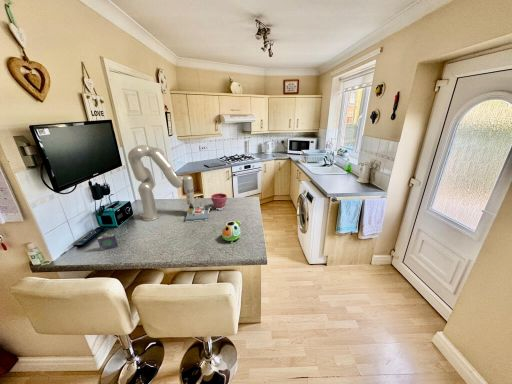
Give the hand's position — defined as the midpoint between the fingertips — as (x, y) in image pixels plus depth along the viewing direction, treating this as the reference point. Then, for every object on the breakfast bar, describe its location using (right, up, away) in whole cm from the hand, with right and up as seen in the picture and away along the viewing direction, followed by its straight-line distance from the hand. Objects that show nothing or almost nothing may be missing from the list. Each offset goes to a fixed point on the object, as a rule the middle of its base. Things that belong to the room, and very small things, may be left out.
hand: (191, 210), depth 176 cm
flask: (-38, -21, -46) cm, 64 cm away
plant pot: (+23, 0, +13) cm, 26 cm away
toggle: (+6, +2, +7) cm, 9 cm away
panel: (+7, -4, -1) cm, 8 cm away
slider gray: (+13, 0, +4) cm, 13 cm away
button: (+8, -1, -5) cm, 9 cm away
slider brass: (+1, -2, -3) cm, 4 cm away
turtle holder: (+40, -16, -34) cm, 55 cm away
